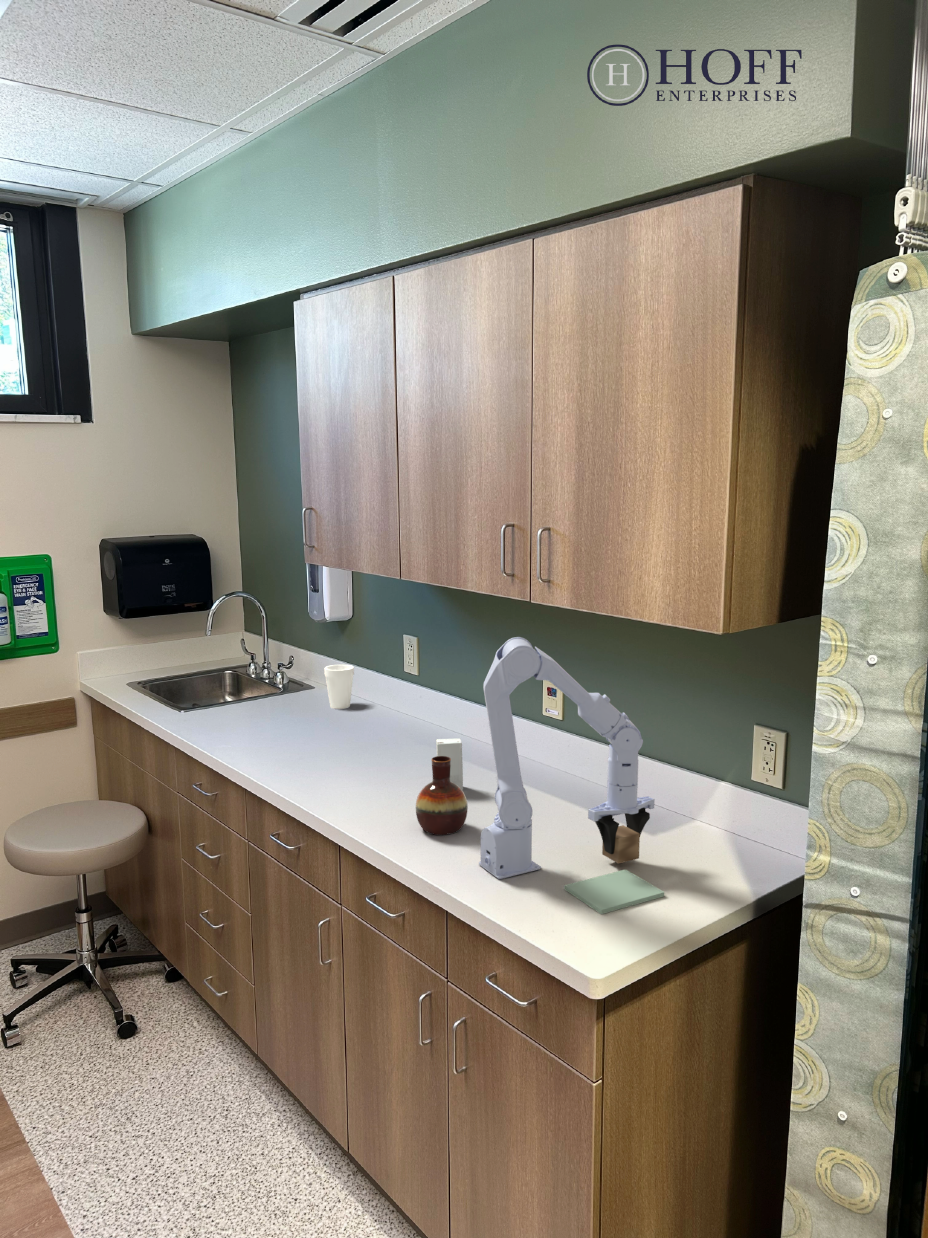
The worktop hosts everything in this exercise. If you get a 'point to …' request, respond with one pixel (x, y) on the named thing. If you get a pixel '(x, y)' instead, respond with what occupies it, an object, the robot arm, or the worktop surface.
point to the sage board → (613, 891)
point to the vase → (441, 801)
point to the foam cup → (339, 685)
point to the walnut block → (624, 845)
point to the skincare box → (452, 758)
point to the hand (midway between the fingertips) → (620, 849)
